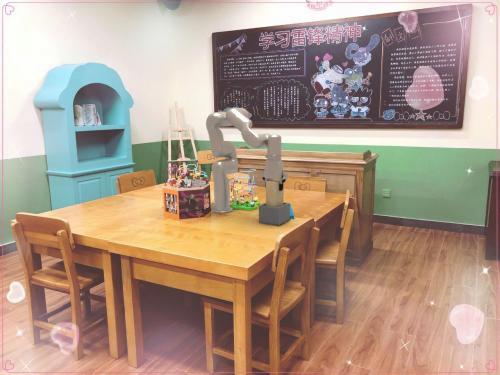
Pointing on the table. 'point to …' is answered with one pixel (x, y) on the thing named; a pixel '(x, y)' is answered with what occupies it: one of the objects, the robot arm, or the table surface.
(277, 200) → the beige tall block
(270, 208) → the box
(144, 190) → the table surface
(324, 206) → the table surface
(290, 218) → the lever
